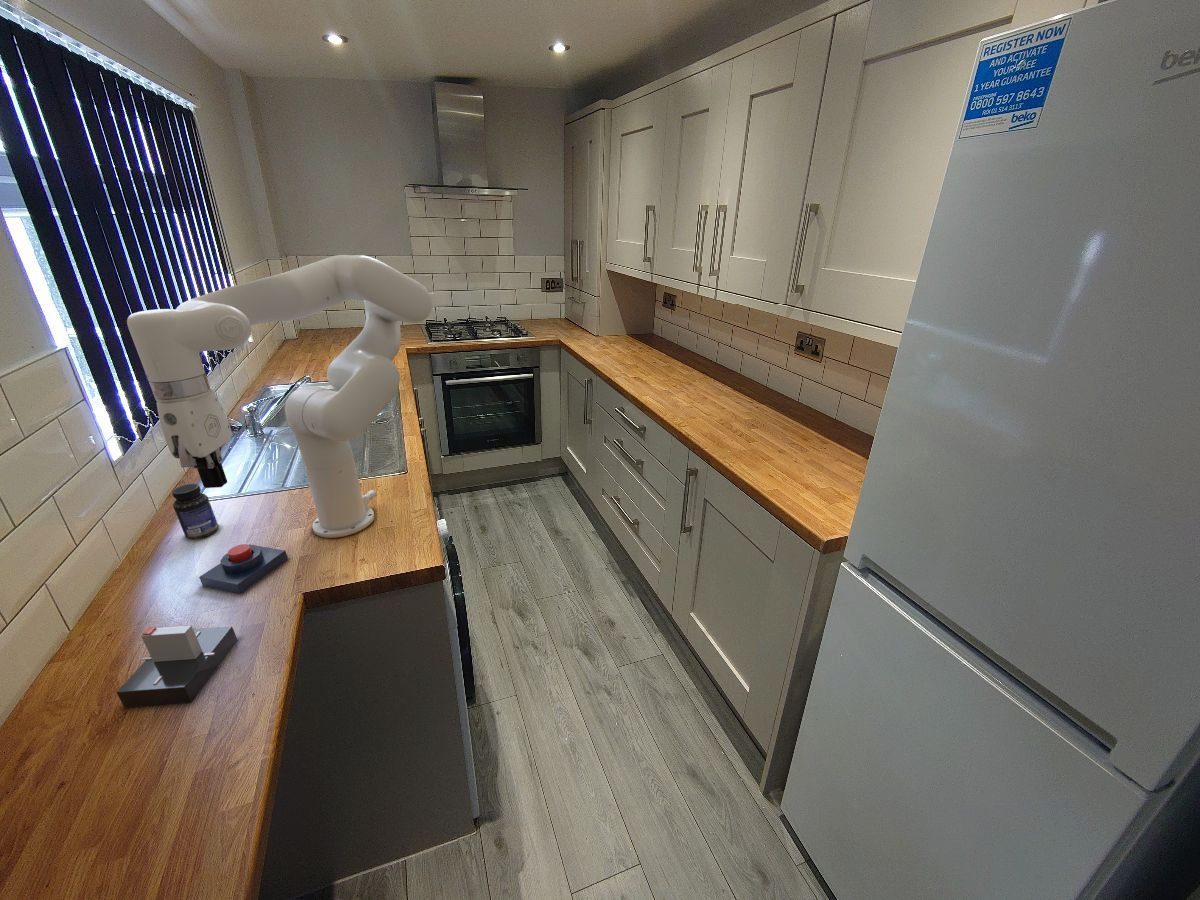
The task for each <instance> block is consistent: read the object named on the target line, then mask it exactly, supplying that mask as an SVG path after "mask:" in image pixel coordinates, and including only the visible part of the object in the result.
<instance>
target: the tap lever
mask: <svg viewBox="0 0 1200 900" xmlns="http://www.w3.org/2000/svg"><path fill="white" fill-rule="evenodd" d="M193 629H194V628H193V626H192V625H179V626H178V625H176V626H164V627H156V626H152V627H151V626H150V627H148V628H146V630H145V631H144V632H143V633H142V635H140V637H141V639H142V641H143V643H144V645H145V647H146V649H147V651H148V654H149V656H151V658H152V660H153V662H161V661H175V660H189V659H196V658H197V657H198V656H199V655H200V653H201V652H202V649H201V646H200V644H199V642H198V639H197V637H196V635H195V632H194V630H193Z"/></svg>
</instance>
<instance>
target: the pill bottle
mask: <svg viewBox="0 0 1200 900" xmlns="http://www.w3.org/2000/svg"><path fill="white" fill-rule="evenodd" d="M201 491H202V489H201V486H200V485H199V484H198V483H188V484H183V485H181V486H177V487H175V488H174V489H173V490H172V491H171V494H172V496H173V498H174V499H175V501H173V504H172V507H173V510H174V512H175V515H176V517H177V520H178V523H179V525H180V528H181V529H182V532H183V535H184V537H185V538H186V539H189V540H201V539H204V538H207V537H210V536H211V535H214V534H215V533H217V532H218V530H219V527H220V526H219V523H218V521H217V517H216V515H215V513H214V510H213V508H212V505H211V502H210V500H209V497H208V496H207V494H205V493H203V492H201Z"/></svg>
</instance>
